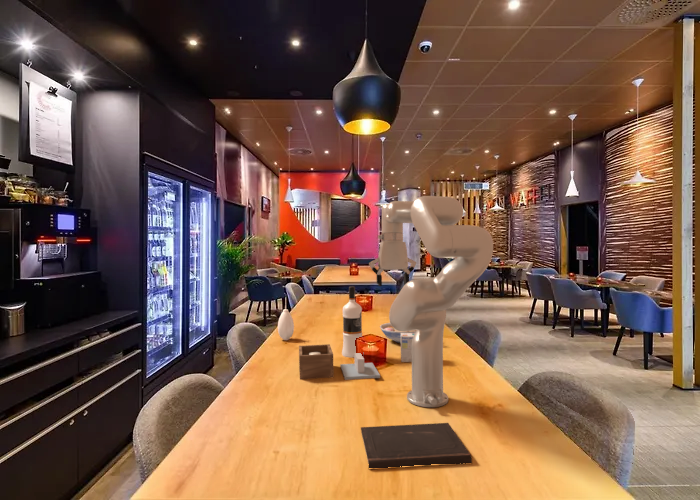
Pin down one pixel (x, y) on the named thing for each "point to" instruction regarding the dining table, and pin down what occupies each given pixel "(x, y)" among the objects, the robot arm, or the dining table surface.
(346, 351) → the vodka
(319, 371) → the walnut box
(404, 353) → the light bulb box
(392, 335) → the ramen bowl
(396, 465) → the hardcover book
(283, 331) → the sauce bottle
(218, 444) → the dining table surface
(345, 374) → the lid
